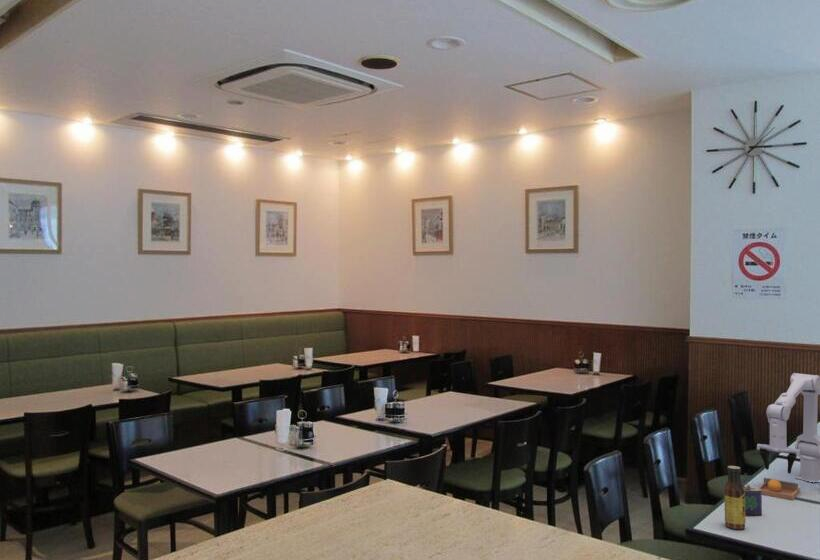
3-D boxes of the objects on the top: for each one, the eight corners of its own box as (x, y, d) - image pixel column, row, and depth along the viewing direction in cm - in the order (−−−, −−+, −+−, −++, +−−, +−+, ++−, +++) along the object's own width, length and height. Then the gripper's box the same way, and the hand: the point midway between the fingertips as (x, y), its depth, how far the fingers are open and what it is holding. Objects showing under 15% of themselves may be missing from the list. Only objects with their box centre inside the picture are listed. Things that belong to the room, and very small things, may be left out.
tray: (765, 486, 266) (765, 481, 266) (799, 492, 258) (799, 487, 258) (756, 493, 256) (756, 489, 256) (792, 500, 248) (792, 495, 248)
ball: (777, 490, 260) (770, 479, 262) (786, 487, 256) (778, 476, 258) (770, 494, 258) (762, 483, 259) (779, 491, 254) (771, 480, 256)
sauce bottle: (747, 531, 219) (747, 470, 219) (727, 529, 220) (727, 469, 220) (742, 523, 225) (741, 465, 225) (722, 522, 227) (722, 464, 226)
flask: (759, 513, 235) (759, 483, 235) (763, 516, 232) (763, 485, 232) (733, 513, 236) (733, 482, 236) (736, 516, 233) (736, 485, 233)
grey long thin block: (764, 485, 267) (764, 477, 267) (798, 491, 259) (798, 483, 259) (763, 485, 266) (763, 478, 266) (797, 491, 258) (797, 484, 258)
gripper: (754, 434, 259) (754, 469, 259) (797, 440, 250) (797, 476, 250) (759, 431, 265) (759, 465, 265) (801, 437, 255) (801, 472, 255)
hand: (778, 470), depth 258 cm, fingers open, 7 cm apart
